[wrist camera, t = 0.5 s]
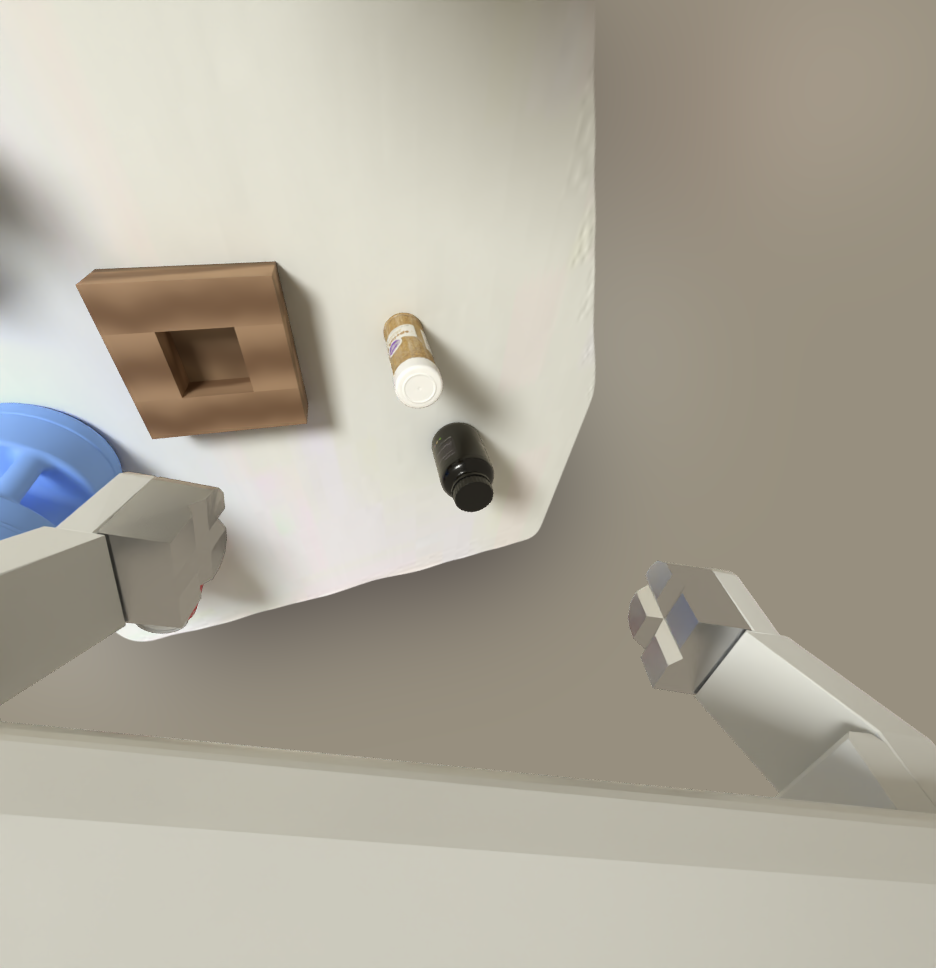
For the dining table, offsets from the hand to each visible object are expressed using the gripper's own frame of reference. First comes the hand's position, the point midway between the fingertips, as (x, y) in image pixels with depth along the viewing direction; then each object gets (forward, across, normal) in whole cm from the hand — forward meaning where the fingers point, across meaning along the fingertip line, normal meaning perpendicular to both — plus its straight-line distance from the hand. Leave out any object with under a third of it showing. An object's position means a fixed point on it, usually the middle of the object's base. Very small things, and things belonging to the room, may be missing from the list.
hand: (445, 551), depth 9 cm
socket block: (+44, +23, +14) cm, 52 cm away
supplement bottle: (+52, -5, +24) cm, 57 cm away
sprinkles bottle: (+48, +4, +10) cm, 50 cm away
